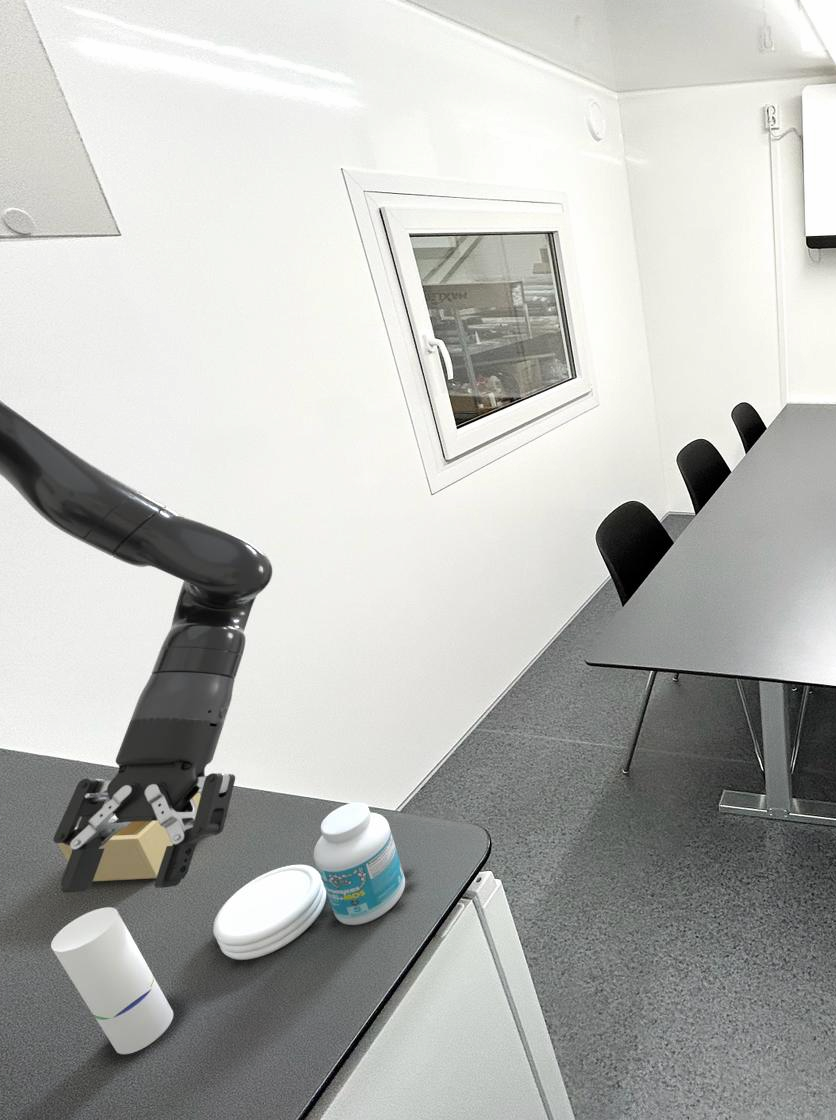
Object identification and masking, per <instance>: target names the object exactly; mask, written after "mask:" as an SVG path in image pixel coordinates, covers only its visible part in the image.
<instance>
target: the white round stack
mask: <svg viewBox="0 0 836 1120" xmlns="http://www.w3.org/2000/svg"><path fill="white" fill-rule="evenodd" d="M326 901H327V892H326V889H325V887H324V884H323V881H322V879H321V876H320V873H319V870H318V869H316V868H315V867H313V866H311V865H308V864H307V865H306V864H291V865H286V866H282V867H279V868H275V869H272V870H270V871H268V872H266V873H263V874H261V875H259V876H257V877H256V878H254V879H253V880H251V881H249V882H248V883H246V884H245V885H244V886H242V887H241V888H239V889H238V890H237V891H235V892H234V894H233V895H232V896H230V898H228V900H226V902H225V903H224V904H223V905H222V907H221V908H220V909H219V911H218V912H217V914H216V916H215V918H214V922H213V925H212V927H213V928H212V933H213V936H214V938H215V939H216V942H217V944H218V945H219V949H220V950H221V952H222V953H223V955H225V956H227V957H229V958H231V959H233V960H238V961H243V960H244V961H245V960H253V959H257V958H260V957H264V956H266V955H269V954H271V953H274V952H275V951H277V950H279V949H282V948H283V947H285V946H286V945H288V944H289V943H291V942H292V941H294V940H295V939H297V938H298V937H300V935H302V934H303V933H304V932H305V931H306V930H307V929H308V928H309V927H311V926H312V924H313V923H314V922H315V921H316V920H317V919H318V918H319V916H320V914H321V912H322V911H323V909H324V907H325V904H326Z"/></svg>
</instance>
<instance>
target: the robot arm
mask: <svg viewBox="0 0 836 1120" xmlns="http://www.w3.org/2000/svg"><path fill="white" fill-rule="evenodd" d="M0 476H1V477H3V478H4V479H5V480H6V481H7V482H8V483H9V484H10V485H11V486H12V487H13V488H14V489H15V490H16V491H17V492H18V493H19V494H20V496H21V497H22V498H23V499H24V500H25V501H26V502H27V503H28V504H29V506H30V507H31V508H32V509H33V510H34V511H35V512H36V513H38V515H39V516H40V517H42V518H43V519H44V520H45V521H46V522H48V523H49V524H51V525H52V526H54V527H55V528H57V529H58V530H60V531H61V532H63V533H65V534H67V535H68V536H70V537H72V538H74V539H76V540H78V541H80V542H82V543H84V544H86V545H88V546H90V547H91V548H94V549H96V550H98V551H100V552H103V553H104V554H106V555H108V556H110V557H112V558H114V559H116V560H119V561H121V562H123V563H125V564H128V565H131V566H134V567H138V568H140V567H141V568H144V567H145V568H146V567H152V568H155V569H157V570H160V571H162V572H164V573H166V574H168V575H170V576H173V577H175V578H178V579H180V580H182V586H181V588H180V591H179V595H178V597H177V601H176V604H175V608H174V613H173V617H172V621H171V625H170V629H169V630H168V633H167V634H166V637H165V638H164V640H163V642H162V644H161V647H160V650H159V652H158V654H157V657H156V660H155V662H154V666H153V669H152V671H151V674H150V676H149V678H148V680H147V682H146V683H145V685H144V688H143V689H142V691H141V693H140V695H139V697H138V700H137V702H136V704H135V708H134V710H133V713H132V715H131V718H130V721H129V723H128V725H127V729H126V731H125V734H124V736H123V739H122V742H121V744H120V747H119V750H118V752H117V755H116V758H115V763H116V764H117V766H118V771H117V772H116V775H115V776H114V777H113V778H112V779H110V778H83V779H81V780H80V781H79V782H78V783H77V785H76V787H75V788H74V791H73V793H72V796H71V798H70V800H69V803H68V805H67V807H66V809H65V811H64V814H63V815H62V818H61V821H60V822H59V824H58V827H57V828H56V831H55V834H54V836H53V842H54V843H55V844H58V843H64V844H66V845H69V846H70V848H71V849H72V853H71V856H70V859H69V861H67V864H66V867H65V869H64V871H63V875H62V877H61V879H60V880H61V881H60V887H61V893H65V894H66V893H77V892H86V891H87V890H89V889H90V888H91V887H92V885H93V882H94V881H93V879H94V877H95V874H96V871H97V868H98V866H99V863H100V860H101V857H102V855H103V852H104V849H105V848H103V849H99V848H100V847H102V846H103V845H104V844H105V843H106V842H107V841H108V840H109V839H111V838H112V837H113V836H114V835H115V834H116V833H117V832H118V831H119V830H121V829H123V828H125V827H127V826H128V825H129V824H130V823H132V822H137V821H157V820H158V822H159V824H160V825H161V826H162V827H164V828H165V829H166V831H167V833H168V836H169V838H170V841H171V843H172V844H173V845H172V846H167V847H166V850H165V853H164V856H163V859H162V862H161V865H160V869H159V872H158V875H157V878H155V881H154V888H156V889H162V888H171V887H176V886H178V885H179V884H180V883H181V881H182V880H184V879H185V878H186V876H187V874H188V872H189V869H190V866H191V862H192V860H193V856H194V853H195V850H196V847H197V845H198V843H199V842H201V841H202V840H204V839H207V838H209V837H212V836H217V835H219V834H221V833H222V832H223V830H224V827H225V825H226V824H225V823H226V819H227V816H228V811H229V806H230V802H231V798H232V795H233V790H234V785H235V781H236V776H235V774H234V773H225V772H224V773H223V772H218V773H217V772H215V773H214V772H213V773H209V774H208V775H206V774H205V772H206V771H205V769H206V767H207V765H208V764H210V763H212V761H213V759H214V756H215V754H216V750H217V746H218V743H219V740H220V738H221V734H222V732H223V728H224V725H225V722H226V719H227V715H228V713H229V709H230V705H231V702H232V698H233V693H234V692H233V691H234V684H235V682H236V681H235V680H236V677H237V675H238V671H239V668H240V665H241V661H242V658H243V655H244V653H245V647H246V640H247V639H246V634H245V629H246V626H247V623H248V620H249V617H250V614H251V611H252V609H253V606H254V603H255V602H256V598H257V596H258V595H259V594H260V593H262V592H263V591H264V590H265V589H266V588H267V586H268V585H269V584H270V583H271V580H272V577H273V572H274V571H273V570H274V569H273V565H272V563H271V561H270V559H269V557H268V556H267V555H266V554H265V553H264V552H263V551H262V550H260V549H259V548H258V547H257V546H255V545H253V544H252V543H250V542H249V541H247V540H245V539H243V538H241V537H238V536H236V535H234V534H232V533H229V532H227V531H224V530H222V529H219V528H216V527H214V526H211V525H208V524H205V523H202V522H200V521H197V520H194V519H191V518H188V517H185V516H184V515H181V514H180V513H178V512H177V511H176V510H173V509H172V508H170V507H167V506H166V505H165V504H163V503H161V502H159V501H157V500H155V499H154V498H152V497H150V496H148V495H146V494H144V493H142V492H141V491H139V490H137V489H135V488H133V487H131V486H130V485H128V484H126V483H124V482H122V481H121V480H119V479H117V478H115V477H113V476H111V475H110V474H108V473H107V472H105V471H103V470H102V469H99V468H98V467H96V466H94V465H93V464H91V463H89V462H88V461H87V460H85V459H84V458H82V457H80V456H79V455H78V454H76V453H75V452H73V451H72V450H70V449H69V448H67V447H66V446H64V445H63V444H61V443H60V442H59V441H57V440H56V439H54V438H53V437H52V436H50V435H49V434H48V433H46V432H45V431H44V430H42V429H40V428H39V427H38V426H36V425H35V424H33V423H32V422H31V421H29V420H28V419H26V418H25V417H24V416H22V415H21V414H20V413H18V412H17V411H16V410H14V409H13V408H11V407H10V406H9V405H7V404H6V403H4V402H3V401H1V400H0ZM197 793H200V795H201V797H200V801H199V805H198V809H197V807H196V805H195V802H194V800H193V797H194V796H195V795H196V794H197ZM107 799H109V800H108V801H109V802H108V801H107V802H108V803H107V802H106V800H107ZM105 802H106V803H107V804H106V803H105ZM105 804H106V805H105ZM103 805H104V806H103ZM113 815H115V816H113ZM79 820H80V821H79ZM78 822H79V823H78ZM77 826H78V827H77ZM76 827H77V829H75V828H76Z"/></svg>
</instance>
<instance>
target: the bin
mask: <svg viewBox="0 0 836 1120" xmlns="http://www.w3.org/2000/svg"><path fill="white" fill-rule="evenodd" d="M200 797H201V795H200V793H197V794H196V795H195V796H194V797H193V800H194V802H195V805H196V807H197V809H198V805H199V801H200ZM109 801H110V800H108V801H107V802H106V803H104V805H106V804H107V803H108V802H109ZM104 805H103V806H104ZM113 816H115V815H113ZM77 827H78V825H76V827H75V829H77ZM57 845H58V847H59V849H60V851H61V852H62V854H63V855H64V857H65V859H66V861H67V862H68V861H69V859H70V856H71V853H72V849H71V848H70V846H69V845H66V844H64V843H57ZM172 845H173V844H172V843H171V841H170V838H169V836H168V833H167V831H166V829H165V828H164V827H162V826H161V825H160V824H159V822H158V820H157V821H137V822H132V823H130V824H129V825H128V826H127V827H125V828H123V829H121V830H119V831H118V832H117V833H116V834H115V835H114V836H113V837H112V838H111V839H109V840H108V841H107V842H106V843H105V844H104V845H103V846H102V847H100V848H99V849H103V848H105V849H104V852H103V855H102V857H101V860H100V863H99V866H98V868H97V871H96V874H95V877H94V879H93V882H107V881H109V882H110V881H125V880H145V879H147V880H149V879H156V878H157V875H158V872H159V869H160V865H161V862H162V859H163V856H164V853H165V850H166V847H167V846H172Z"/></svg>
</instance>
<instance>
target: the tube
mask: <svg viewBox="0 0 836 1120" xmlns="http://www.w3.org/2000/svg"><path fill="white" fill-rule="evenodd" d="M50 948H51V949H52V951H53V953H54V955H55V956H56V958H57V959H58V961H59V963H60V964H61V966H62V968H63V969H64V970H65V972H66V974H67V975H68V977H69V978H70V980H71V982H72V984H73V985H74V987H75V988H76V990H77V991H78V993H79V995H80V997H81V998H82V999H83V1002H84V1003H85V1004H86V1007H88V1009H89V1010H90V1012H91V1014H93V1017H94V1018H95V1020H96V1021H97V1023H98V1024H99V1026H100V1028H101V1029H102V1031H103V1033H104V1035H106V1038H107V1039H108V1040H109V1042H110V1044H111V1045H112V1047H113V1048H114V1051H115V1052H116V1053H117V1054H119V1055H129V1054H133V1053H135V1052H138V1051H141V1050H143V1049H145V1048H146V1047H148V1046H150V1045H151V1044H152V1043H154V1042H155V1041H156V1040H157V1039H158V1038H160V1037H161V1036H162V1035H163V1034H164V1033H165V1032H166V1030H167V1029H168V1028H169V1027H170V1025H171V1023H172V1021H173V1020H174V1014H175V1013H174V1010H173V1008H172V1007H171V1005H170V1004H169V1002H168V999H167V998H166V997H165V994H164V993H163V991H162V989H161V987H160V986H159V984H158V981H157V980H156V978H155V976H154V975H153V973H152V971H151V969H150V967H149V965H148V964H147V962H146V960H145V958H144V956H143V954H142V953H141V951H140V950H139V947H138V945H137V944H136V942H135V940H134V938H133V936H132V935H131V933H130V931H129V929H128V927H127V925H126V924H125V922H124V920H123V919H122V917H121V915H120V913H119V911H118V910H117V909H116V908H114V907H112V906H111V907H110V906H107V907H101V908H96V909H93V910H91V911H88V912H86V913H84V914H82V915H79V917H77V918H75V919H73V920H72V921H70V922H69V923H67V924H66V925H65V926H64V927H63V928H62V929H61V930H59V931H58V932H57V933H56V935H55V936H54V937H53V939H52V941H51V943H50Z"/></svg>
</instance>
